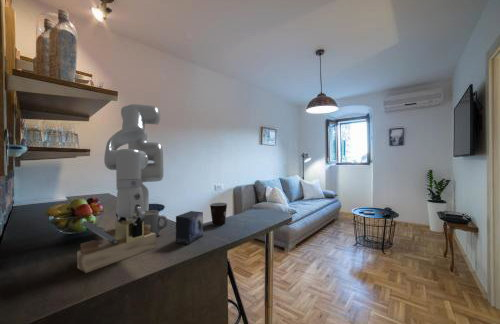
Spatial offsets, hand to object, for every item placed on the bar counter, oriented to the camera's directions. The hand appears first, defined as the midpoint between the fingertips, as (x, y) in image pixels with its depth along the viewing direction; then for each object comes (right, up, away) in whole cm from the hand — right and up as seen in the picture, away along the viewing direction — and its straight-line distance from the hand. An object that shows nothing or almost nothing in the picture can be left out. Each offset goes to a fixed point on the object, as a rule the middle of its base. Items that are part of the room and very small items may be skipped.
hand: (129, 234), depth 74 cm
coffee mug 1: (-1, -7, +19) cm, 20 cm away
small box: (+17, -7, +13) cm, 23 cm away
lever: (-3, -1, -5) cm, 6 cm away
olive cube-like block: (0, -2, 0) cm, 2 cm away
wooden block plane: (-2, -7, -3) cm, 7 cm away
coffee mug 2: (+25, -7, +34) cm, 43 cm away
